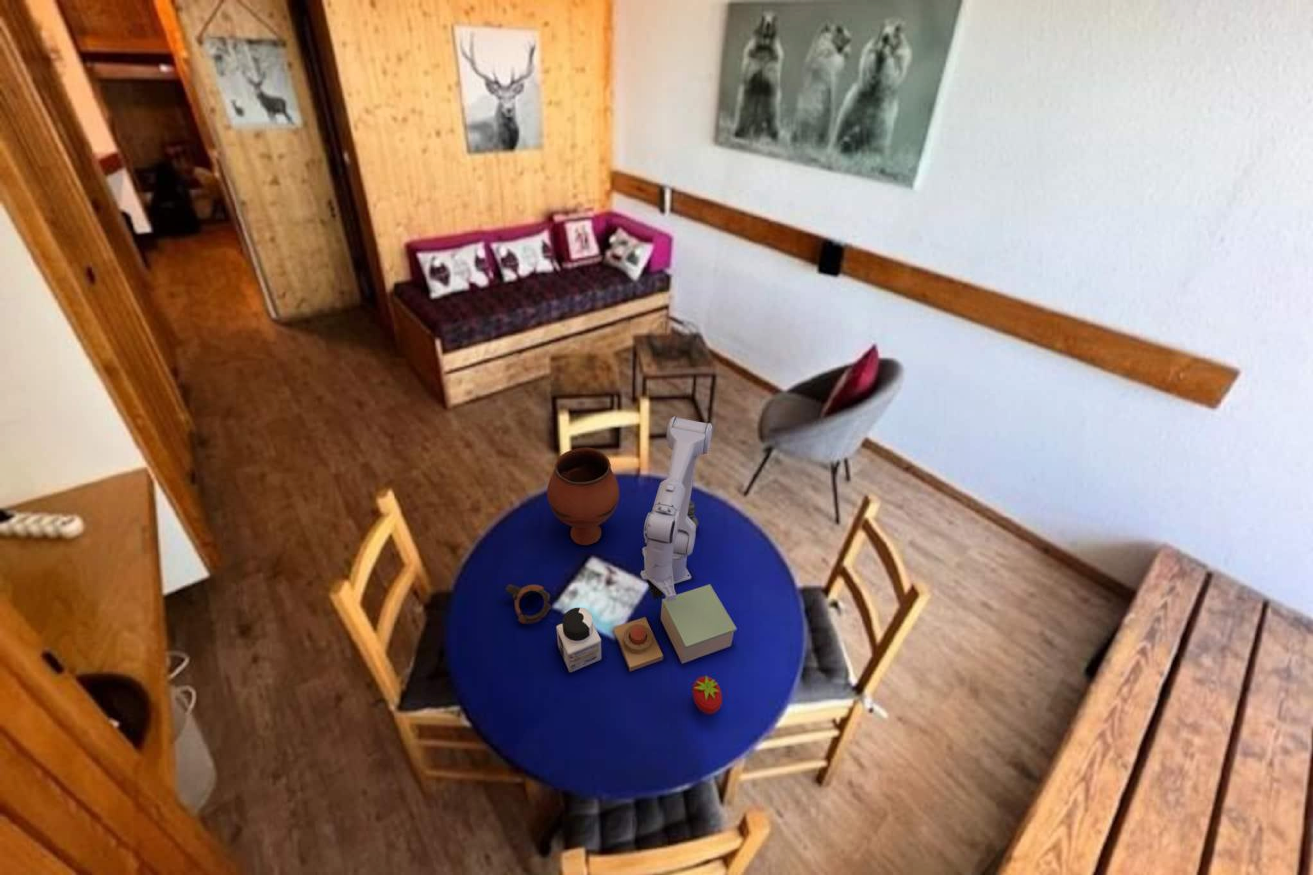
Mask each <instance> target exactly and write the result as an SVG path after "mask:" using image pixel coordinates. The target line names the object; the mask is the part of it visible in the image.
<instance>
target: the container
mask: <svg viewBox="0 0 1313 875" xmlns="http://www.w3.org/2000/svg"><path fill="white" fill-rule="evenodd" d="M561 622H562V623H559V624H558V625H556V626H555V628H556V637H557V647H558V649H559V651H560V654H561V655H562V658H563V660H564V663H565V665H566V668H567V670H568V673H573V672H575V671H577V670H580V669H582V668H584V667H587V666H589V665H591V664H593V663H596V662H598V661H601V660H602V638H601V636H600V635H599V633H598V630H597V628H596V627H595V625H594V618H593V615H592V613H591V611H589V609H587V608H584V607H573V608H570V609H569V610H567V611H566V612H565V613H564V615H563V616H562V620H561Z"/></svg>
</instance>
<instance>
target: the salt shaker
mask: <svg viewBox="0 0 1313 875" xmlns="http://www.w3.org/2000/svg"><path fill="white" fill-rule="evenodd" d="M695 507H696V503H694V501H692V500H691V499H690V503H689V508H688V514H687V516H688V517H689V518H690V519H691V520H692V521H693V522H694V523H695V525H696V528H697V527H698V526H699V520H698V518H697V517H696V516H695V515H696V510H695Z"/></svg>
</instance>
